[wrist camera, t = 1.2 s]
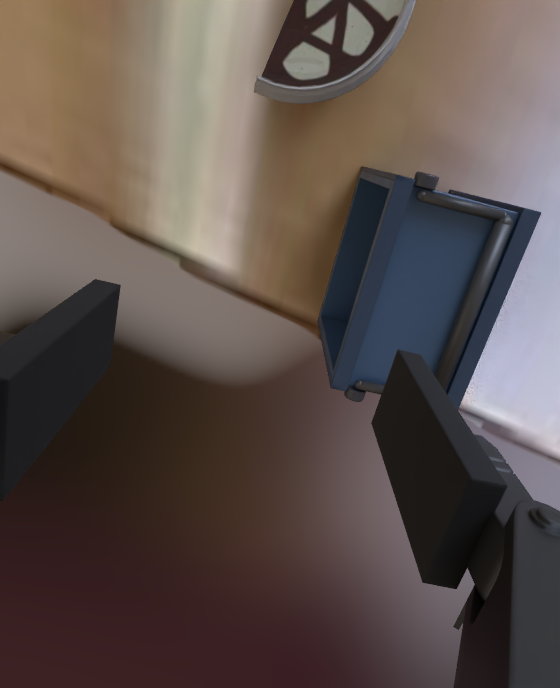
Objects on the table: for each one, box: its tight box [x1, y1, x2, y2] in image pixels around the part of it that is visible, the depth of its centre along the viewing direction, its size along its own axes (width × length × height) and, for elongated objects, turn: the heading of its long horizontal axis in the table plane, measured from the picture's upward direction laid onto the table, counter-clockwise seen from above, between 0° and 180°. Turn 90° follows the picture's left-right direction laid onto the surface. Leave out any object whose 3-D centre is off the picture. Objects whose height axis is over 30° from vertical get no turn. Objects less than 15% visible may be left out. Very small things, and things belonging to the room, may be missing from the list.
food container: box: [254, 0, 416, 104], centre depth 30 cm, size 12×6×10 cm, turn 154°
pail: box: [318, 166, 541, 410], centre depth 34 cm, size 13×8×13 cm, turn 166°
